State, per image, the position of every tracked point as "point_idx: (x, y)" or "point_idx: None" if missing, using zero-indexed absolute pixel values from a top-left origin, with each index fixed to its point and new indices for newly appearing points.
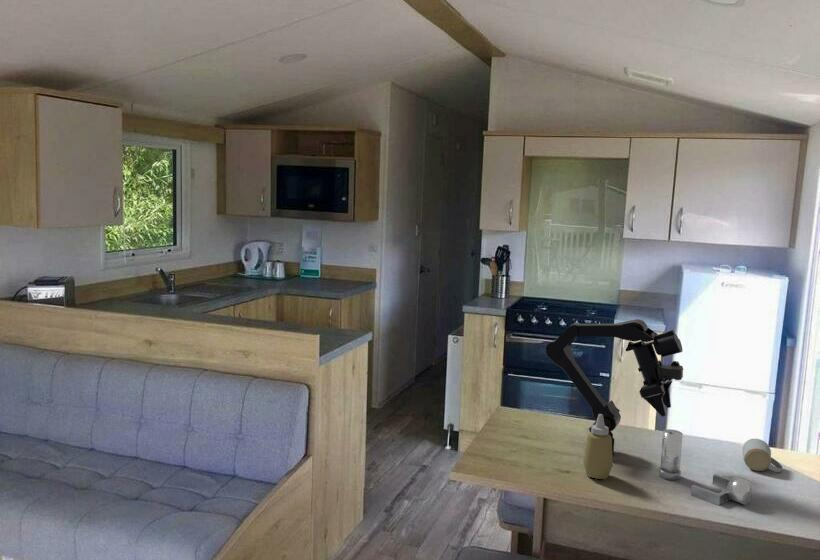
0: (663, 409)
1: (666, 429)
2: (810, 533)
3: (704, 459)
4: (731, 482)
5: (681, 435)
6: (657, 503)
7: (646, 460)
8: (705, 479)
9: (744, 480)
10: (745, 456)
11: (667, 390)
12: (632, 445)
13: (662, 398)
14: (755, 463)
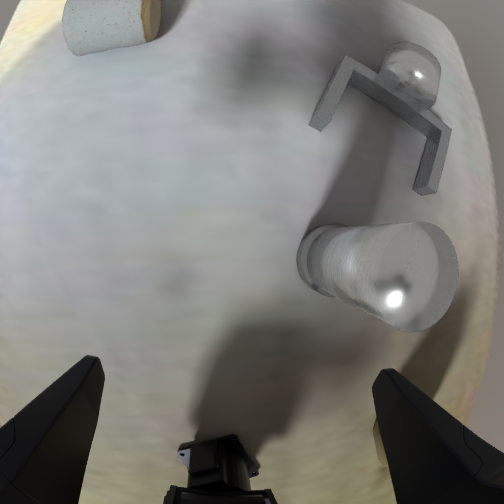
0: (430, 403)
1: (387, 319)
2: (436, 19)
3: (110, 159)
4: (436, 88)
5: (436, 227)
6: (478, 269)
7: (218, 344)
8: (296, 149)
9: (424, 55)
10: (147, 29)
11: (17, 485)
12: (106, 392)
13: (479, 473)
14: (155, 18)
